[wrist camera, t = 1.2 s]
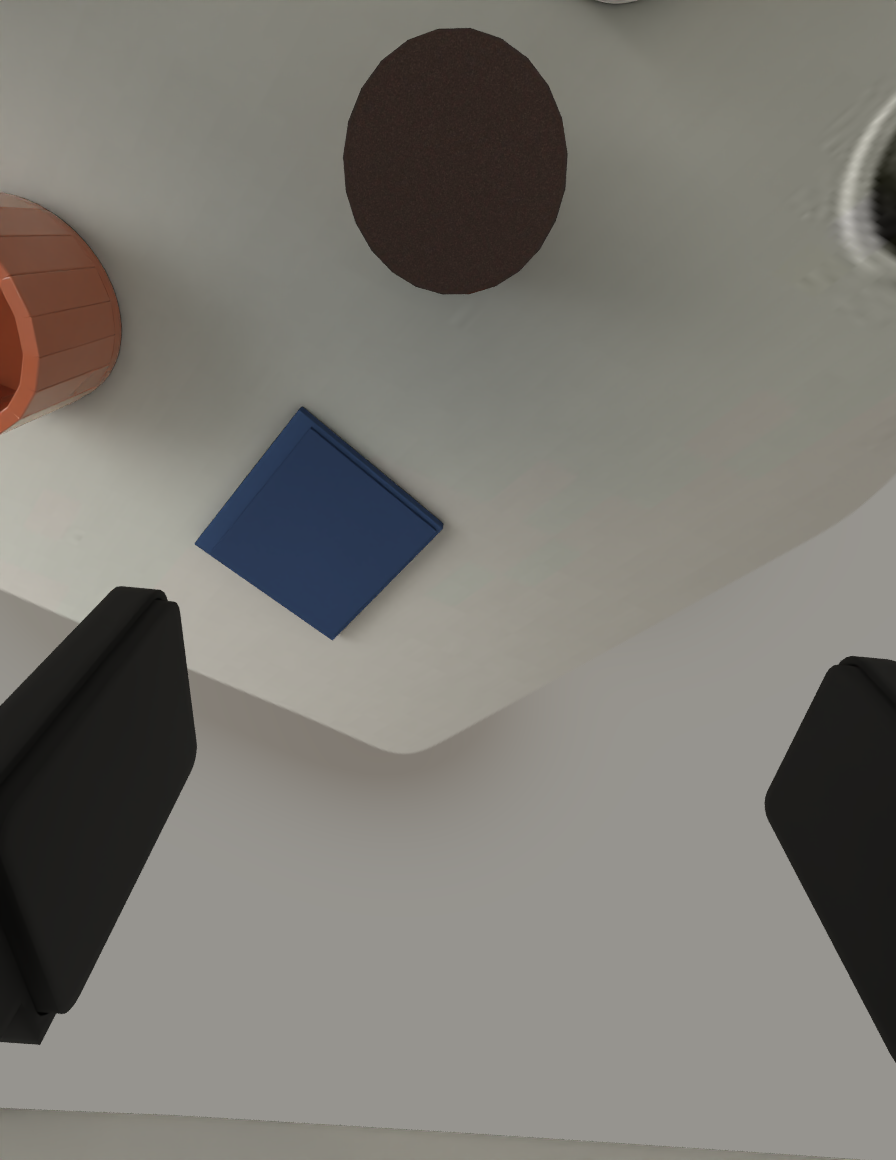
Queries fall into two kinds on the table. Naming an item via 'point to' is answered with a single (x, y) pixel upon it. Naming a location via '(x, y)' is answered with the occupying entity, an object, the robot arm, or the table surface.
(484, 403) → the table surface
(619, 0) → the bath foam
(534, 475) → the table surface
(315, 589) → the blue book
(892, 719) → the robot arm
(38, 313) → the pot
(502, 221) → the deodorant
